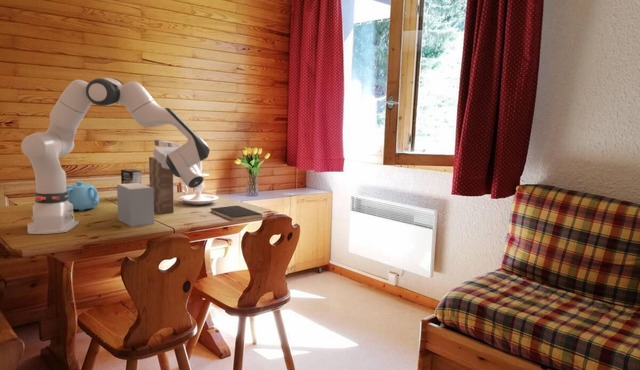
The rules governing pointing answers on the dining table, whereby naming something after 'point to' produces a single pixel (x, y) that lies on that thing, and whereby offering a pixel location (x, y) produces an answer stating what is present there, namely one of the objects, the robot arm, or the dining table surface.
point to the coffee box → (130, 176)
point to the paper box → (135, 204)
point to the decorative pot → (82, 196)
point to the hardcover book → (236, 212)
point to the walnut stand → (161, 186)
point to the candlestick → (198, 192)
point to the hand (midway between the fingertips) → (170, 143)
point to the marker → (162, 143)
